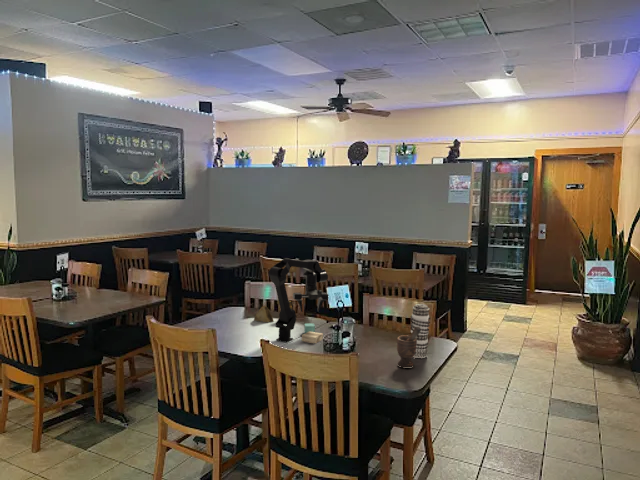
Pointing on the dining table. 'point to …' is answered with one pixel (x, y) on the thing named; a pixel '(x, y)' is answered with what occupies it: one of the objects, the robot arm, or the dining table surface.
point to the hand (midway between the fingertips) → (309, 311)
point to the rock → (263, 315)
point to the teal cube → (309, 328)
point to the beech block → (312, 337)
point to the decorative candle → (421, 321)
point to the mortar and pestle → (407, 348)
